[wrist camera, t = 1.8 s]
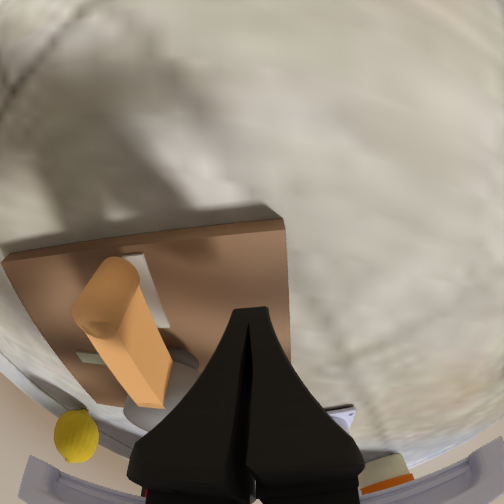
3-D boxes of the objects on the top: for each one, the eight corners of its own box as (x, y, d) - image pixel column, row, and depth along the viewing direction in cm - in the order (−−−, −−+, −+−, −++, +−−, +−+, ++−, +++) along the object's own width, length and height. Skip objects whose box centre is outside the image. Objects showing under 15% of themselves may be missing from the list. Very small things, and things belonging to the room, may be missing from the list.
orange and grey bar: (218, 402, 17) (215, 441, 15) (151, 400, 18) (143, 435, 15) (163, 251, 11) (140, 299, 9) (70, 261, 12) (39, 301, 9)
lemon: (90, 400, 25) (71, 459, 18) (113, 423, 28) (99, 476, 21) (57, 394, 25) (37, 446, 19) (81, 416, 28) (65, 464, 21)
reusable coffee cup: (335, 473, 40) (342, 538, 27) (385, 451, 35) (399, 525, 22) (376, 471, 43) (385, 526, 31) (422, 448, 38) (436, 509, 25)
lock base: (290, 399, 23) (292, 425, 20) (100, 394, 24) (93, 415, 21) (283, 218, 14) (288, 246, 11) (9, 253, 15) (-12, 274, 13)
